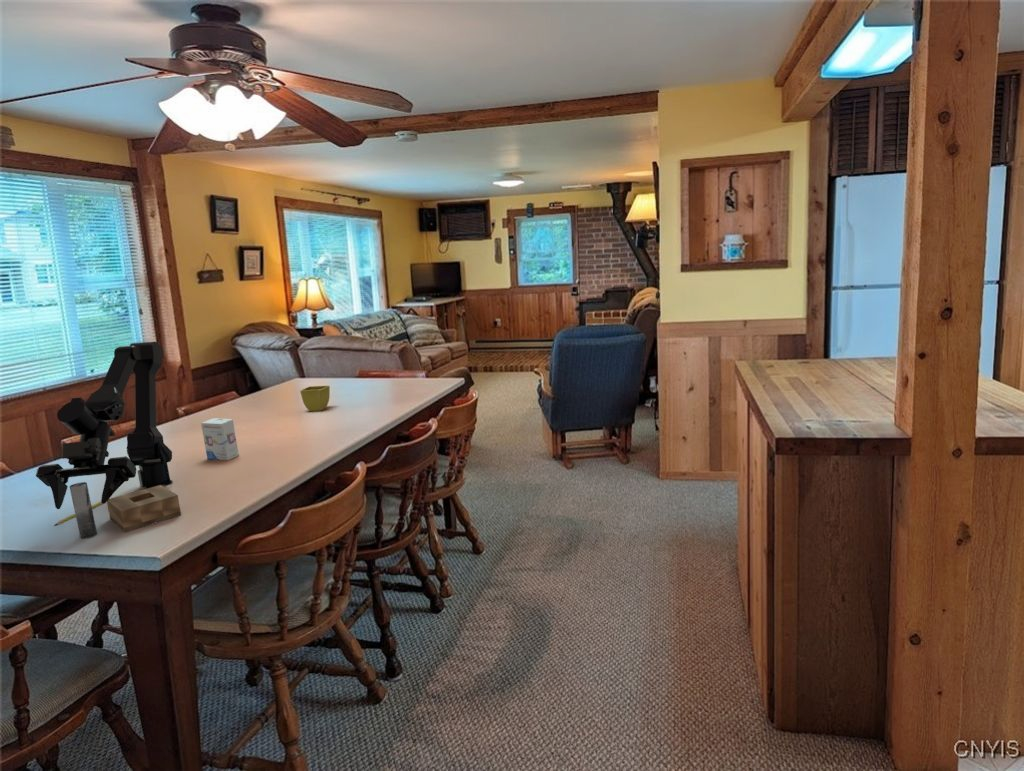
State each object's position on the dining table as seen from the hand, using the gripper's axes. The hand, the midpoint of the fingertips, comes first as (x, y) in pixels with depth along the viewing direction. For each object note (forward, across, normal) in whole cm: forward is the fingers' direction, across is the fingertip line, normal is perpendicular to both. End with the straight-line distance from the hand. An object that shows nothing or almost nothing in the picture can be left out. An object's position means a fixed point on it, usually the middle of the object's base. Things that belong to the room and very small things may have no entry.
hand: (80, 505), depth 144 cm
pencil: (-6, -9, +17) cm, 20 cm away
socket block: (-1, +9, +11) cm, 15 cm away
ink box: (-34, +15, +44) cm, 58 cm away
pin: (+5, 0, +6) cm, 7 cm away
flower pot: (-75, +38, +84) cm, 119 cm away
